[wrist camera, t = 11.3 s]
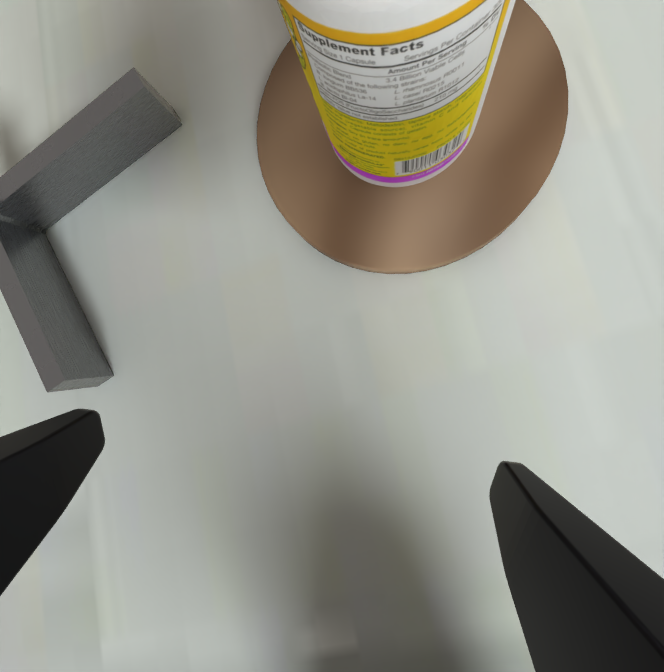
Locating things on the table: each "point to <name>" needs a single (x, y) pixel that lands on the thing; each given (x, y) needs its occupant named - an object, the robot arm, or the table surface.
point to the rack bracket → (55, 202)
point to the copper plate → (433, 194)
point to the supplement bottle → (398, 78)
